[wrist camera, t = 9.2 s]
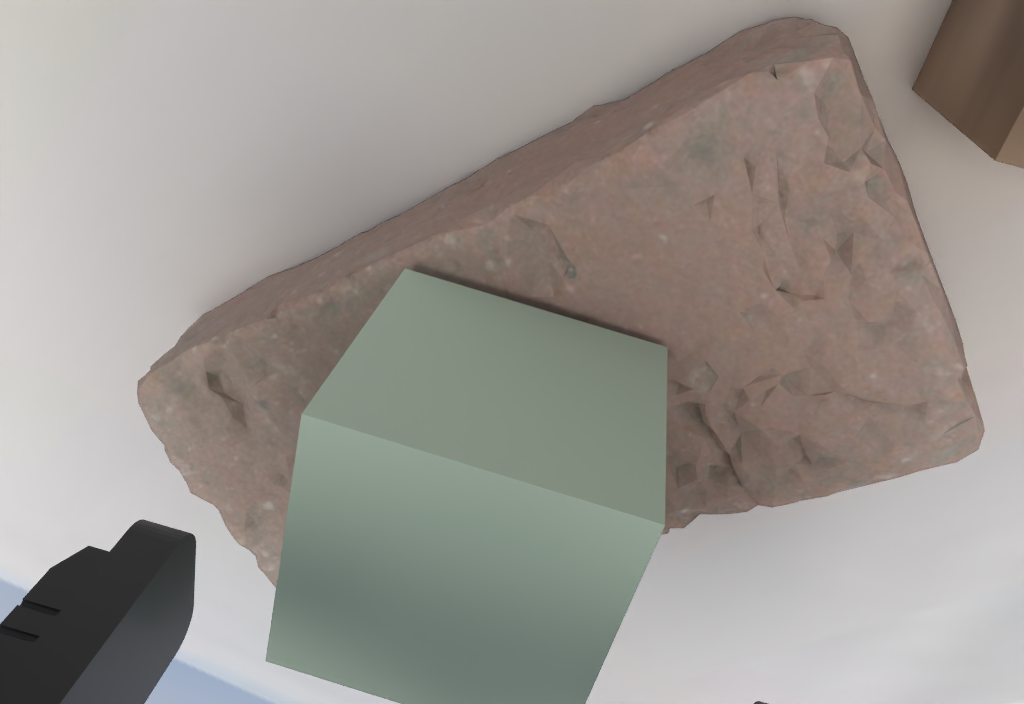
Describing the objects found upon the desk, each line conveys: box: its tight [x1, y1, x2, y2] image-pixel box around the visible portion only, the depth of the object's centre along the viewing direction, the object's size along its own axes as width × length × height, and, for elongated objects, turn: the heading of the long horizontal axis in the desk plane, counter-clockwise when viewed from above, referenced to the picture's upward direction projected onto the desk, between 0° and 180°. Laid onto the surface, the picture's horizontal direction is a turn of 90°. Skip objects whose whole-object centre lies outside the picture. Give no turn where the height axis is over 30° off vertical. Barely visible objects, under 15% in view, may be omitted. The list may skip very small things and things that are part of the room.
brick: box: [137, 17, 984, 587], centre depth 19 cm, size 17×8×5 cm, turn 119°
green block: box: [266, 269, 668, 704], centre depth 15 cm, size 5×5×5 cm
